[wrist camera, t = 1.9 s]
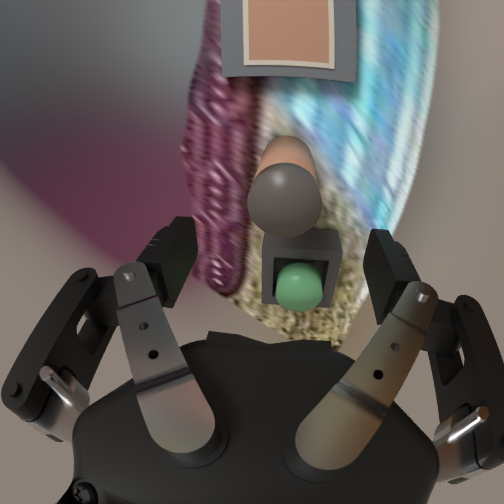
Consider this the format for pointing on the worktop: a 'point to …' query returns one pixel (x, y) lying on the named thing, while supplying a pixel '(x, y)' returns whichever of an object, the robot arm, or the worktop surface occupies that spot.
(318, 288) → the button
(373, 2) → the worktop surface
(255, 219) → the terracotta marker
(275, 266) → the button housing
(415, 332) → the robot arm
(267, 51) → the picture board
